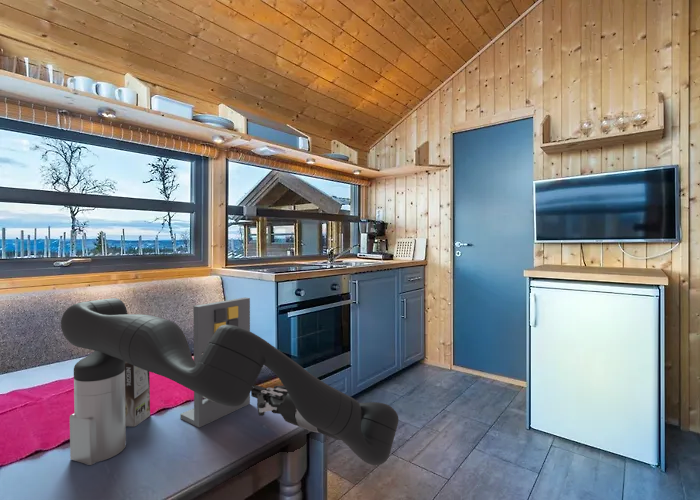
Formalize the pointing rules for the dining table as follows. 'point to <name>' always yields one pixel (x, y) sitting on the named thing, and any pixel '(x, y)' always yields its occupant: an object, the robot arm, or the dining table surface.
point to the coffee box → (136, 394)
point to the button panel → (204, 329)
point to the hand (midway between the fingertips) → (253, 390)
